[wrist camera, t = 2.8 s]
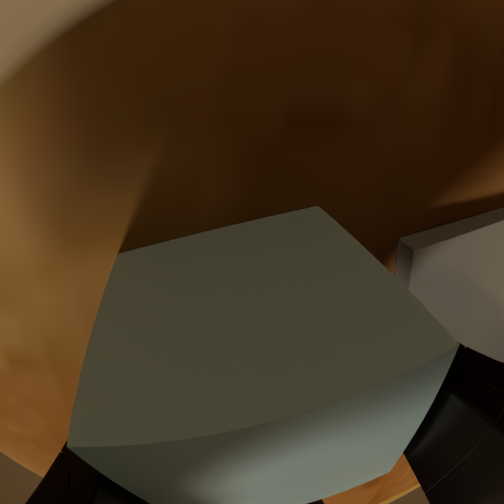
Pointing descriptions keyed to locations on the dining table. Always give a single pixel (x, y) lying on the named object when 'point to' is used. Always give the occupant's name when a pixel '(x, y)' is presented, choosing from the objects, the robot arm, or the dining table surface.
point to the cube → (255, 366)
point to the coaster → (460, 278)
